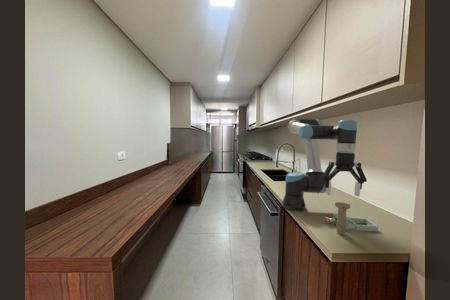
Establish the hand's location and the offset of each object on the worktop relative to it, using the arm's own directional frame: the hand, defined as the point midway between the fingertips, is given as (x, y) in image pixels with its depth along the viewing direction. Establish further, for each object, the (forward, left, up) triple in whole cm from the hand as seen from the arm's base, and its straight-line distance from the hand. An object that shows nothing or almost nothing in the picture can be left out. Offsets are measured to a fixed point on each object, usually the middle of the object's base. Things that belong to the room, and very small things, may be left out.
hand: (342, 195), depth 90 cm
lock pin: (-9, +1, -19) cm, 21 cm away
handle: (0, +1, -20) cm, 20 cm away
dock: (-9, +12, -20) cm, 25 cm away
